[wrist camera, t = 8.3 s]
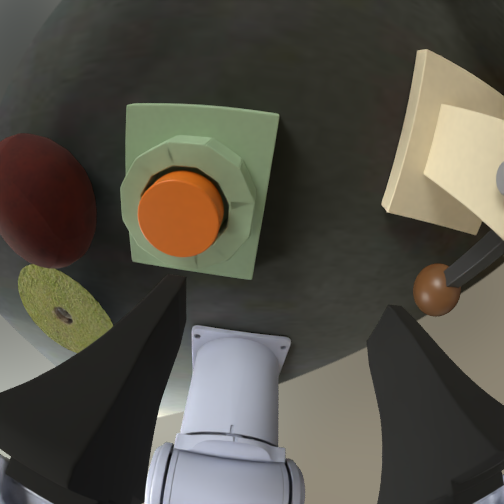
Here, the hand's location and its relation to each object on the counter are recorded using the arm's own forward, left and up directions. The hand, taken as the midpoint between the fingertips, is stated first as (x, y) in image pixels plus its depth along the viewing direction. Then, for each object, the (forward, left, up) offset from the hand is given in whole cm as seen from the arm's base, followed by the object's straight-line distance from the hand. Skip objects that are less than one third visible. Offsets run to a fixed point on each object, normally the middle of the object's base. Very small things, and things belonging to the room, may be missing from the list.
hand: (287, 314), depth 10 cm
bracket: (+7, -10, -8) cm, 15 cm away
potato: (+1, +15, -9) cm, 17 cm away
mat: (-11, +17, -9) cm, 22 cm away
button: (+1, +5, -6) cm, 8 cm away
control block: (+1, +5, -8) cm, 10 cm away
